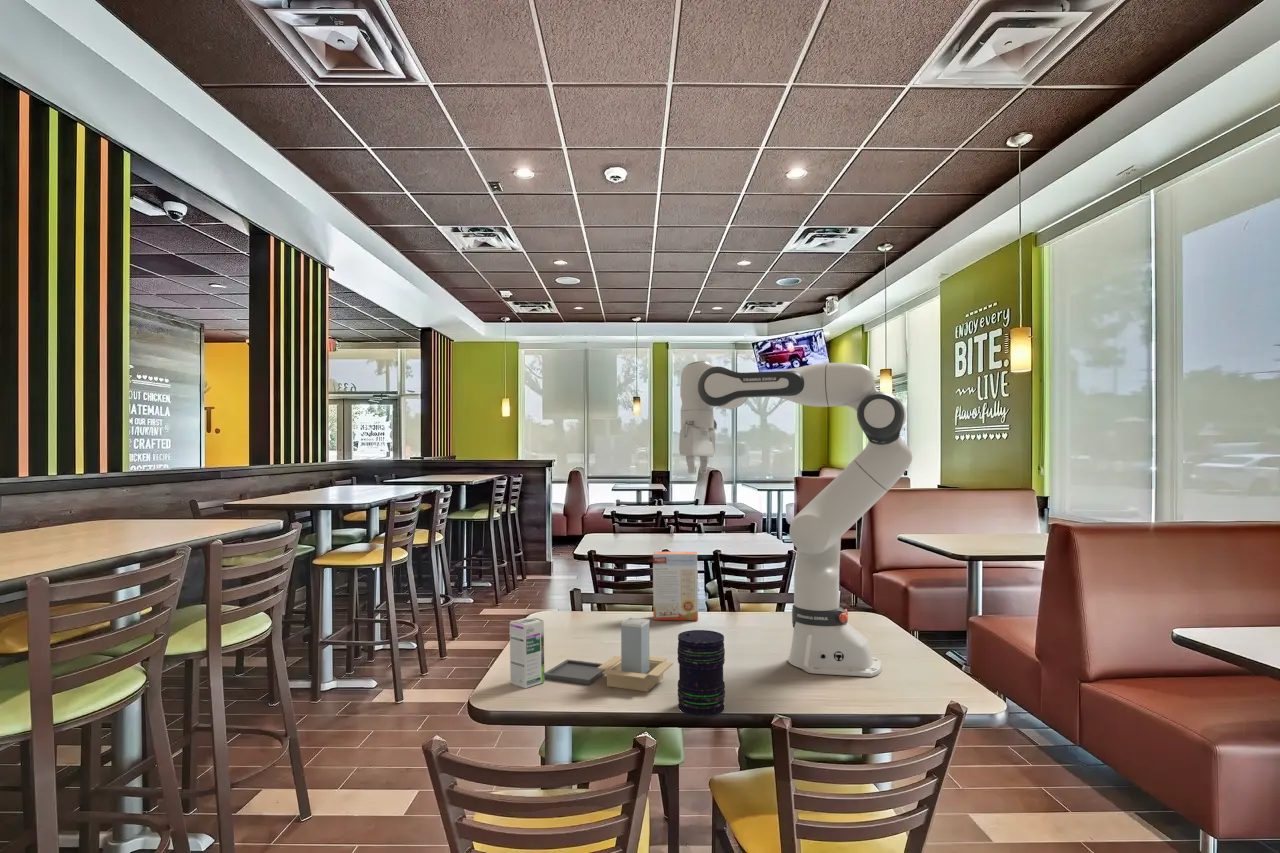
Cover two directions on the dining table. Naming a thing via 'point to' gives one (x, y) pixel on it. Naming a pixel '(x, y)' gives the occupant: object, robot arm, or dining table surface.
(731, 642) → the dining table surface
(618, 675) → the carton
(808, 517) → the robot arm
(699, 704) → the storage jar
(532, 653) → the syrup box
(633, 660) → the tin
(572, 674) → the tray
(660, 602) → the cracker box
